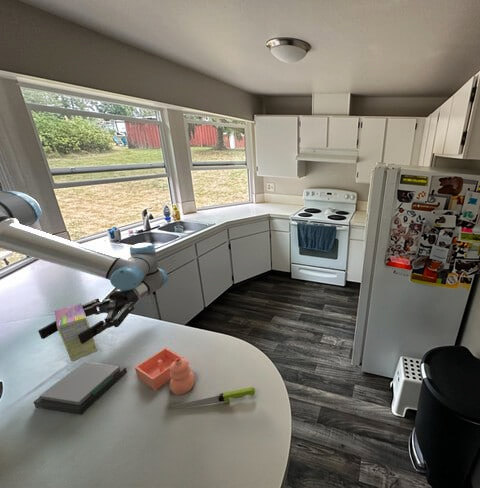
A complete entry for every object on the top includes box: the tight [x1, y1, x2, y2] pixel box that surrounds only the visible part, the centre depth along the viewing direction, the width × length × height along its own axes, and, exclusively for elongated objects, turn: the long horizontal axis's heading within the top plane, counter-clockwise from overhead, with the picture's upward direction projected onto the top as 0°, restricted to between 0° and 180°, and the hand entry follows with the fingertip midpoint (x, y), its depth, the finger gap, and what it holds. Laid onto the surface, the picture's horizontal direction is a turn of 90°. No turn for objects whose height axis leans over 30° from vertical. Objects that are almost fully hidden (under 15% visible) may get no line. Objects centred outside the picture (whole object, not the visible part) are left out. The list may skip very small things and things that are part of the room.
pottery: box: [134, 347, 196, 396], centre depth 76 cm, size 18×10×10 cm, turn 63°
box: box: [54, 302, 99, 362], centre depth 72 cm, size 10×6×12 cm, turn 48°
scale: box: [33, 361, 128, 416], centre depth 73 cm, size 14×14×3 cm
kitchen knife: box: [170, 386, 256, 409], centre depth 70 cm, size 22×1×3 cm, turn 101°
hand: (60, 337), depth 68 cm, fingers closed on box, 11 cm apart
